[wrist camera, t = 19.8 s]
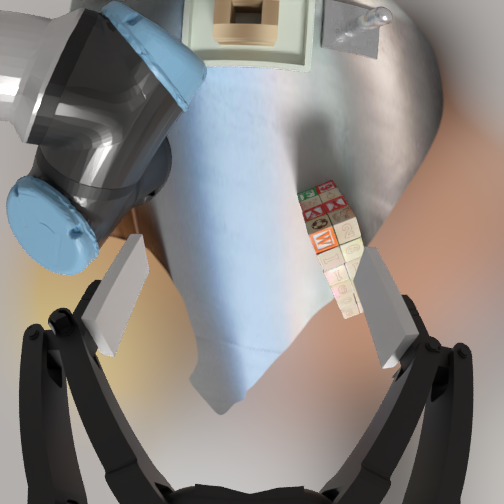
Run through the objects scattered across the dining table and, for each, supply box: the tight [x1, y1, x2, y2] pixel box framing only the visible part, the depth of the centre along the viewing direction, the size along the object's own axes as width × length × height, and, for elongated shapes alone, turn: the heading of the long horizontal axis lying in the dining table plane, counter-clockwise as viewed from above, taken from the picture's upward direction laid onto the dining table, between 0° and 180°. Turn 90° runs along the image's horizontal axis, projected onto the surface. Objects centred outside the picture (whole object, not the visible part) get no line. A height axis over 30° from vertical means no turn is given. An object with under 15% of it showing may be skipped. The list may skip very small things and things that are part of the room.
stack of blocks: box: [297, 181, 364, 319], centre depth 42 cm, size 21×6×12 cm, turn 26°
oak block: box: [212, 0, 280, 47], centre depth 23 cm, size 7×7×7 cm
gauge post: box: [321, 0, 393, 59], centre depth 21 cm, size 8×8×12 cm
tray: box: [182, 0, 315, 73], centre depth 26 cm, size 17×14×2 cm
